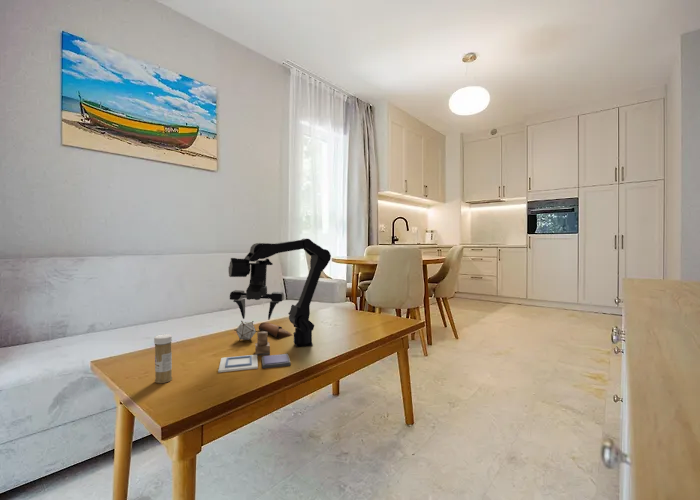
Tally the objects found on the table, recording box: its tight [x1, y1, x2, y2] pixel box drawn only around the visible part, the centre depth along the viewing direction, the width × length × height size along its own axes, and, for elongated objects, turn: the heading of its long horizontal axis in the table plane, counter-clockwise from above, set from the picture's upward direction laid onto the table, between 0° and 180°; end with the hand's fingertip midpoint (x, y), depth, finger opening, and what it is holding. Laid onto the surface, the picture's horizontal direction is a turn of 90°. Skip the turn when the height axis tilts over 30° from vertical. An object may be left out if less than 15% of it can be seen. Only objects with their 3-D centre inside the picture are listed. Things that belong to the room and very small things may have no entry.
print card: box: [217, 354, 259, 373], centre depth 115 cm, size 12×12×1 cm
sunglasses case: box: [258, 322, 293, 340], centre depth 152 cm, size 18×7×7 cm
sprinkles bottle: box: [153, 333, 173, 384], centre depth 101 cm, size 5×5×13 cm
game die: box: [233, 320, 259, 342], centre depth 141 cm, size 9×8×10 cm
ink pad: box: [261, 353, 292, 369], centre depth 116 cm, size 9×9×1 cm
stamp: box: [254, 331, 271, 357], centre depth 126 cm, size 5×5×8 cm
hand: (256, 319), depth 126 cm, fingers open, 9 cm apart
